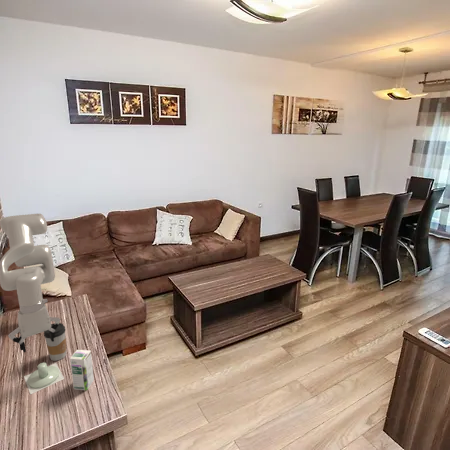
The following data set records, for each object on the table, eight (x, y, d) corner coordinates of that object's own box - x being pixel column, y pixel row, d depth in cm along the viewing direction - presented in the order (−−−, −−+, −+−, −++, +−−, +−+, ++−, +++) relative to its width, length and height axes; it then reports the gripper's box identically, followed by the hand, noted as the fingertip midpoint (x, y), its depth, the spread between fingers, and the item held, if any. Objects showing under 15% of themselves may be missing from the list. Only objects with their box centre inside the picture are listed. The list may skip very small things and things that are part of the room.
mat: (23, 377, 124) (23, 376, 124) (56, 363, 132) (56, 362, 132) (30, 395, 115) (30, 394, 115) (64, 379, 123) (64, 378, 123)
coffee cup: (60, 364, 131) (55, 335, 127) (43, 361, 133) (38, 332, 129) (73, 352, 139) (69, 323, 135) (57, 349, 140) (52, 321, 136)
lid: (25, 376, 124) (23, 364, 122) (55, 364, 131) (53, 352, 129) (31, 392, 116) (29, 380, 114) (62, 378, 123) (60, 366, 122)
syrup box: (73, 390, 118) (68, 358, 114) (81, 378, 124) (77, 348, 120) (87, 391, 118) (83, 360, 114) (94, 379, 124) (91, 349, 120)
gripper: (54, 295, 123) (59, 332, 127) (2, 310, 111) (10, 350, 116) (59, 302, 117) (65, 340, 122) (5, 318, 106) (14, 360, 110)
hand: (38, 345), depth 119 cm, fingers open, 9 cm apart
